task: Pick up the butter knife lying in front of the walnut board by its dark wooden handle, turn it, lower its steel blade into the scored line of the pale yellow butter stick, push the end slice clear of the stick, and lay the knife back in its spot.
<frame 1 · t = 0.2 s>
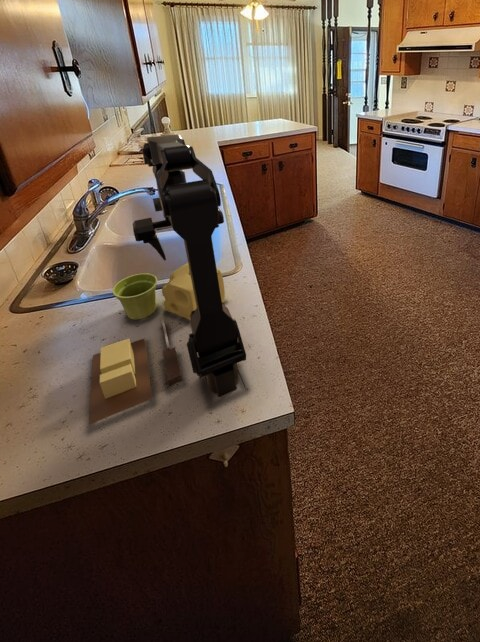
hand: (185, 254, 83), 14 cm above the worktop, tool pointing down, fingers open, 9 cm apart
board: (122, 380, 68), on the worktop
butter: (120, 368, 69), point 1 cm above the worktop, touching board
cheese: (197, 308, 87), on the worktop
plant pot: (143, 314, 85), on the worktop
butter slice: (120, 388, 65), point 1 cm above the worktop, touching board
knife: (170, 358, 73), on the worktop
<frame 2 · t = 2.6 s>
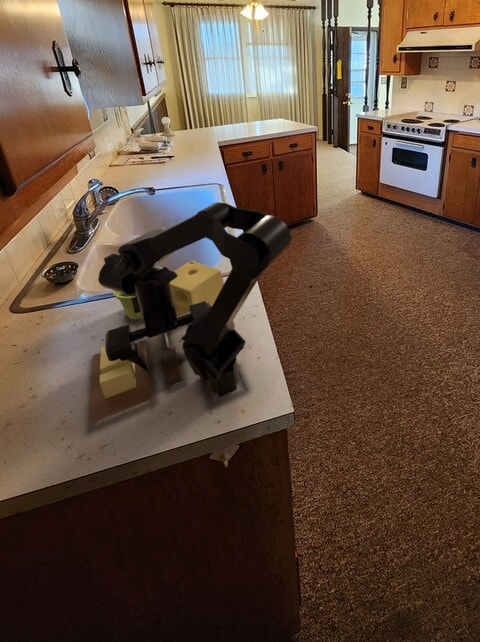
hand: (170, 360, 70), 1 cm above the worktop, tool pointing down, fingers open, 8 cm apart
butter: (120, 368, 69), point 1 cm above the worktop, touching board, gripper
butter slice: (120, 388, 65), point 1 cm above the worktop, touching board, gripper
everything else where it was.
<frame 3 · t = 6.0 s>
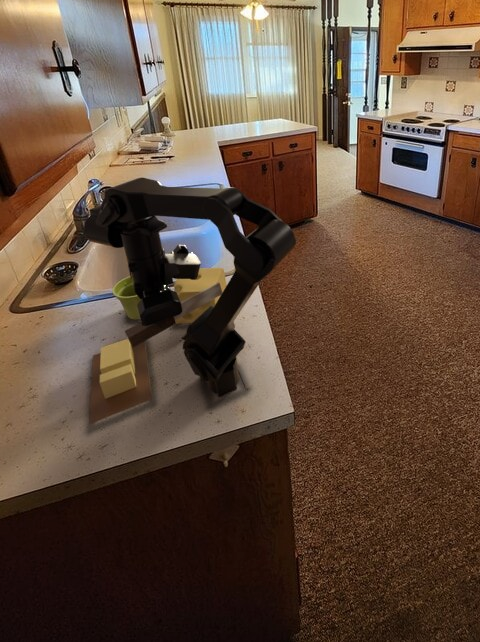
hand: (161, 322, 67), 11 cm above the worktop, tool pointing down, fingers closed on knife, 3 cm apart
butter: (120, 368, 69), point 1 cm above the worktop, touching board
cheese: (203, 312, 86), on the worktop
butter slice: (120, 388, 65), point 1 cm above the worktop, touching board
knife: (173, 320, 68), point 10 cm above the worktop, tilted 6°, touching gripper
everything else where it was.
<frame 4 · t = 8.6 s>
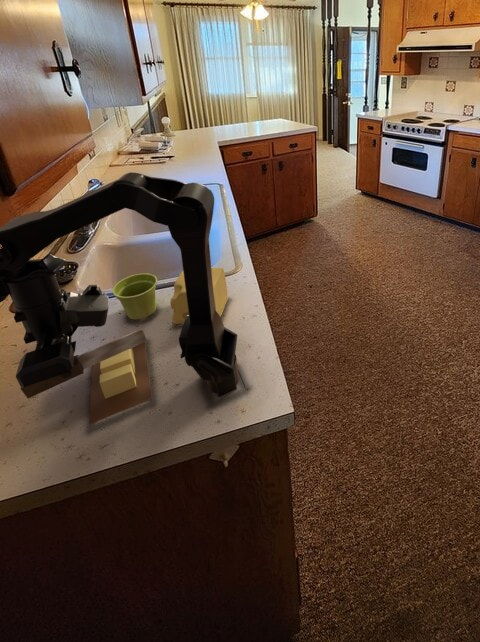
hand: (68, 370, 60), 8 cm above the worktop, tool pointing down, fingers closed on knife, 2 cm apart
knife: (83, 368, 62), point 7 cm above the worktop, tilted 6°, touching gripper
everything else where it was.
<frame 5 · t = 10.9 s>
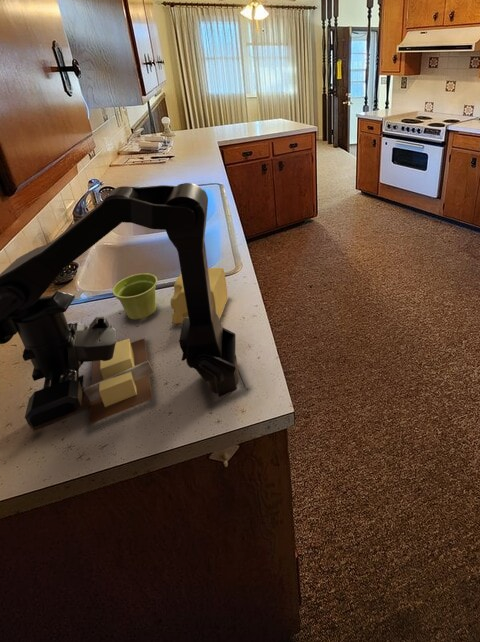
hand: (75, 403, 60), 2 cm above the worktop, tool pointing down, fingers closed on knife, 2 cm apart
butter slice: (120, 396, 63), point 1 cm above the worktop, touching board, knife
knife: (90, 401, 62), point 2 cm above the worktop, tilted 6°, touching butter slice, gripper
everything else where it was.
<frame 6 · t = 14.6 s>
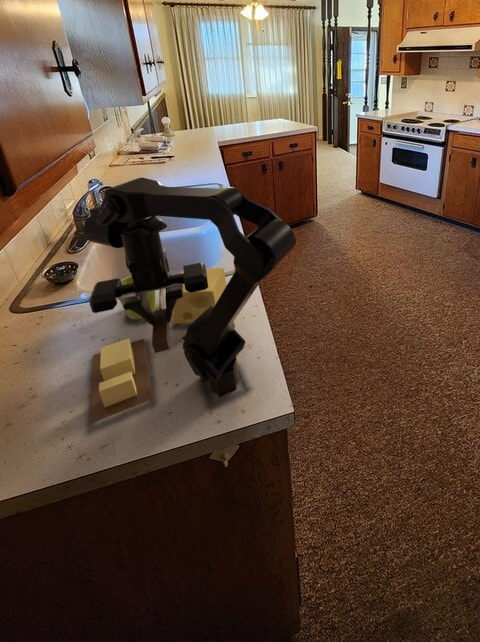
hand: (161, 322, 67), 11 cm above the worktop, tool pointing down, fingers closed on knife, 2 cm apart
butter slice: (120, 397, 63), point 1 cm above the worktop, touching board
knife: (162, 318, 69), point 10 cm above the worktop, tilted 6°, touching gripper
everything else where it was.
when the fingers open (2 cm above the worktop, at t = 17.7 s): knife stays where it is, on the worktop.
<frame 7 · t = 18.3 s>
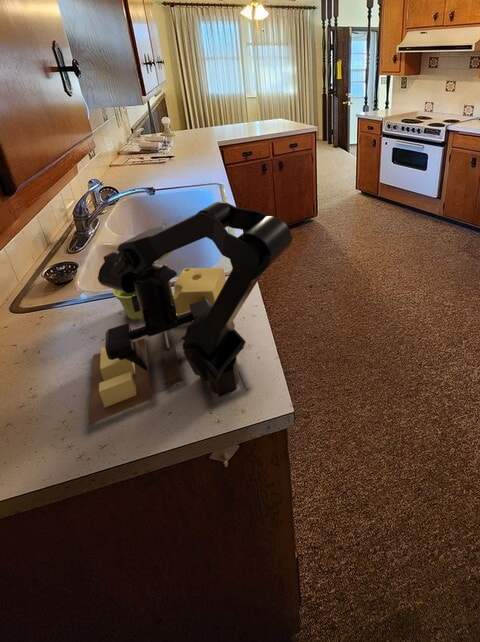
hand: (170, 359, 70), 2 cm above the worktop, tool pointing down, fingers open, 9 cm apart
butter: (120, 368, 69), point 1 cm above the worktop, touching board, gripper
knife: (170, 358, 73), on the worktop
everything else where it was.
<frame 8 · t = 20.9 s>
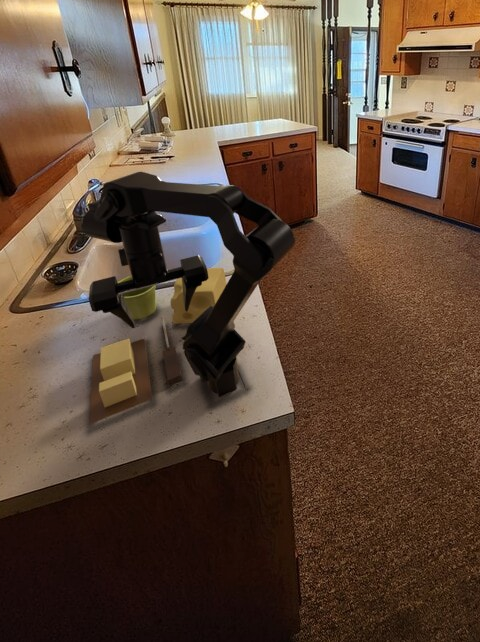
hand: (160, 318, 66), 12 cm above the worktop, tool pointing down, fingers open, 9 cm apart
butter: (120, 368, 69), point 1 cm above the worktop, touching board
everything else where it was.
at the end: butter slice 0.3 cm from the target spot, point 1.2 cm above the worktop; butter moved 0.0 cm from its start; the gripper is holding nothing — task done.
